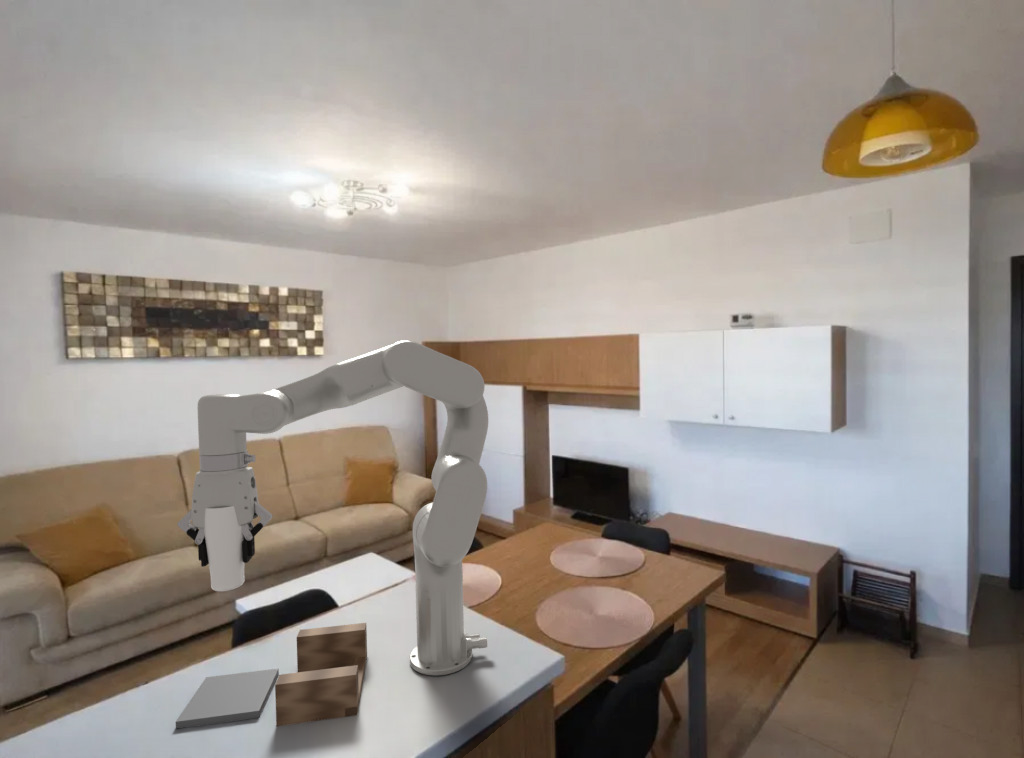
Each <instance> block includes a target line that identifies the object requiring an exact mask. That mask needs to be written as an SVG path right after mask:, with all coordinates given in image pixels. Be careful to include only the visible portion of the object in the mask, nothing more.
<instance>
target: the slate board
mask: <svg viewBox="0 0 1024 758" xmlns="http://www.w3.org/2000/svg"><path fill="white" fill-rule="evenodd" d="M279 675H280V672H279V668H272V669H263V670H255V671H247V672H238V673H231V674H230V673H229V674H222V675H214V676H206V677H205V678H204V680H203V681H202V683H200V686H199V687H198V689H196V691H195V693H194V694H193V696H192V697H191V699H190V700H189V702H188V703H187V704H186V706H185V707H184V708H183V710H182V712H181V713H180V714H179V716H178V717H177V718H176V720H175V729H176V728H179V729H184V728H183V727H186V728H191V726H193V727H198V725H201V726H206V725H213V724H214V725H215V724H221V723H222V724H223V723H229V722H236V721H237V722H238V721H244V720H251V719H259V718H260V717H261V715H262V713H263V710H264V708H265V706H266V704H267V702H268V700H269V698H270V695H271V693H272V690H273V688H274V686H275V684H276V682H277V680H278V677H279Z"/></svg>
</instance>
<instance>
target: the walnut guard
mask: <svg viewBox="0 0 1024 758" xmlns="http://www.w3.org/2000/svg"><path fill="white" fill-rule="evenodd" d="M367 631H368V630H367V622H361V623H350V624H342V625H331V626H324V627H315V628H314V627H313V628H304V629H299V631H298V633H297V635H296V659H297V660H296V661H297V665H296V666H297V672H290V673H282V674H279V675H278V677H277V680H276V682H275V684H274V686H275V688H274V690H275V691H274V692H275V694H274V695H275V721H276V722H275V723H276V725H275V726H276V727H281V726H288V725H289V726H290V725H296V724H303V723H312V722H317V721H327V720H332V719H338V718H339V719H340V718H346V717H354V716H358V713H359V707H360V700H361V696H362V689H363V683H364V677H365V672H366V665H367V661H366V660H367V659H368V640H367V639H368V638H367V637H368V636H367V635H368V634H367Z"/></svg>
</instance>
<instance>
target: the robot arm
mask: <svg viewBox="0 0 1024 758" xmlns="http://www.w3.org/2000/svg"><path fill="white" fill-rule="evenodd" d="M403 387H405V388H408V389H410V390H412V391H414V392H416V393H419V394H421V395H424V396H426V397H428V398H431V399H434V400H436V401H439V402H441V403H442V404H444V407H445V409H446V415H447V417H446V418H447V422H446V427H445V430H444V436H443V439H442V441H441V445H440V447H439V448H440V449H439V451H438V454H437V458H436V460H435V462H434V466H433V469H432V472H431V483H432V487H433V488H434V490H435V495H434V497H433V502H430V503H427V504H426V505H424V506H422V507H420V509H419V510H418V511H417V512H416V514H415V516H414V519H413V523H412V543H413V552H414V572H415V576H414V577H415V609H416V613H415V615H416V619H415V621H416V646H415V647H414V648H413V649H412V651H411V652H410V654H409V664H410V667H411V668H412V669H413V670H414V671H416V672H418V673H420V674H422V675H426V676H437V677H438V676H446V675H450V674H453V673H456V672H458V671H461V670H462V669H464V668H466V666H468V665H469V663H471V661H472V659H473V649H474V650H475V649H486V648H488V638H487V636H486V637H481V636H480V633H479V632H478V633H472V634H469V633H466V629H465V625H464V623H465V620H464V619H465V618H464V614H465V613H464V579H463V578H464V574H463V573H464V572H463V570H464V569H463V559H465V557H466V556H467V554H468V552H469V551H470V549H471V547H472V544H473V541H474V538H475V536H476V535H475V534H476V532H477V530H478V529H477V527H478V526H479V522H480V519H481V515H482V512H483V509H484V505H485V502H486V498H487V493H488V478H487V475H486V472H485V469H483V467H482V466H481V464H480V462H481V458H482V455H483V451H484V447H485V443H486V440H487V434H488V428H489V411H488V407H487V403H486V400H485V398H484V393H485V380H484V378H483V376H482V374H481V372H480V371H479V370H478V369H476V368H475V367H474V366H473V365H470V364H469V363H466V362H464V361H461V360H458V359H456V358H454V357H451V356H449V355H447V354H444V353H441V352H439V351H437V350H434V349H432V348H430V347H428V346H426V345H423V344H421V343H420V342H416V341H413V340H400V341H396V342H395V343H393V344H390V345H387V346H384V347H381V348H378V349H376V350H372V351H370V352H367V353H364V354H361V355H358V356H356V357H353V358H349V359H346V360H344V361H340V362H338V363H334V364H332V365H330V366H328V367H326V368H325V369H323V370H321V371H320V372H318V373H315V374H313V375H311V376H308V377H305V378H303V379H300V380H296V381H294V382H292V383H289V384H285V385H283V386H279V387H277V388H274V389H270V390H266V391H262V392H256V393H252V394H244V395H241V394H237V393H225V394H224V393H223V394H221V393H220V394H207V395H204V396H201V397H200V398H199V399H198V401H197V429H198V430H197V431H198V455H199V457H198V458H199V471H197V472H195V477H194V483H193V486H192V487H193V489H192V496H191V508H190V510H189V511H187V512H186V514H185V515H184V516H183V517H182V518H181V519H180V520H179V521H177V524H176V525H177V527H179V529H180V530H182V531H183V532H185V533H186V535H187V536H188V537H190V538H191V539H192V540H193V541H194V543H195V544H196V545H197V551H198V552H197V553H198V560H199V561H200V564H201V567H203V568H204V567H206V566H209V562H208V555H207V548H206V541H205V534H204V527H205V509H206V508H224V507H230V506H234V509H235V513H236V517H237V522H238V525H240V526H242V527H241V528H242V530H241V531H242V533H243V535H244V539H245V540H244V541H243V542H242V551H243V562H244V563H245V564H247V563H249V562H250V560H251V559H252V558H253V556H255V554H256V549H255V548H256V545H255V544H256V542H255V536H256V535H257V534H258V533H259V532H260V531H261V530H262V529H263V528H264V527H265V526H266V525H267V524H268V523H269V522H270V521H271V520H272V518H273V514H272V513H271V512H270V511H268V509H266V508H265V507H264V506H262V504H260V502H259V501H260V500H259V495H258V494H259V493H258V487H257V480H256V476H255V475H256V474H255V472H254V469H253V467H252V466H248V465H249V464H251V463H255V462H256V455H255V454H250V453H249V450H248V448H247V447H248V446H247V433H248V434H258V435H259V434H260V435H261V434H262V435H266V434H273V433H276V432H278V431H279V430H281V429H282V428H283V427H284V426H287V425H289V424H292V423H294V422H298V421H300V420H303V419H305V418H309V417H311V416H315V415H317V414H319V413H323V412H326V411H331V410H335V409H343V408H347V407H351V406H354V405H357V404H359V403H362V402H364V401H367V400H370V399H372V398H373V399H374V398H375V397H379V396H381V395H383V394H386V393H388V392H392V391H395V390H397V389H401V388H403ZM258 517H260V520H259V521H258V522H257V523H256V524H255V525H254V523H253V520H254V519H256V518H258Z"/></svg>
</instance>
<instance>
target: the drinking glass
mask: <svg viewBox="0 0 1024 758" xmlns="http://www.w3.org/2000/svg"><path fill="white" fill-rule="evenodd" d="M241 527H242V526H240V525H238V522H237V517H236V513H235V509H234V506H230V507H224V508H206V509H205V527H204V534H205V541H206V548H207V555H208V562H209V564H208V569H209V575H210V587H211V589H212V590H213V591H215V592H227V591H231V590H235V589H237V588H239V587H241V586H242V585H243V584H244V583H245V577H246V576H245V566H246V563H244V562H243V551H242V542H243V541H244V540H245V539H244V535H243V533H242V531H241V530H242V528H241Z"/></svg>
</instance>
